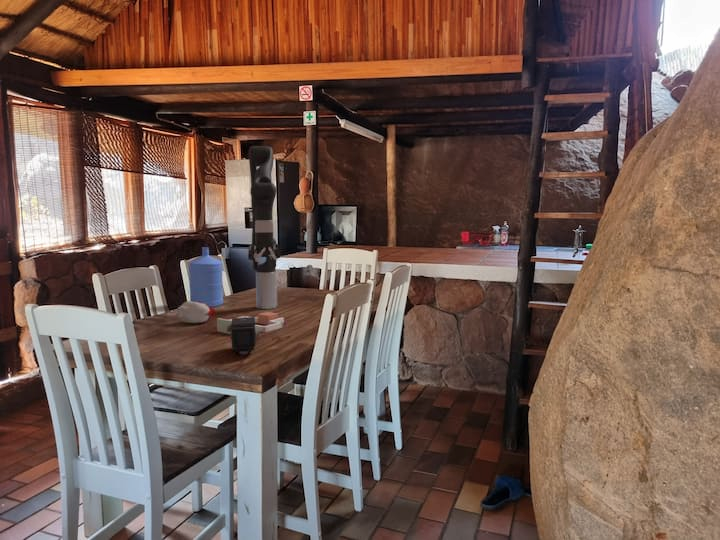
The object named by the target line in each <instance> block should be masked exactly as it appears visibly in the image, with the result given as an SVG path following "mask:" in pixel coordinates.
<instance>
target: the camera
mask: <svg viewBox="0 0 720 540" xmlns="http://www.w3.org/2000/svg"><path fill="white" fill-rule="evenodd" d="M254 318H255V317H254V316H248V317H247V318H238V317H235V318H234V317H232V318H231V319H232V323H231V324H229V325H228V324H227V332H230V334H229V336H230V340H231V348H232V351H233V352H238V353H239V355H247V354H249V351H254V350H255V347H256V342H257V340H259V339H260V335H261V334H260V331H256V329H255V325H256V323H255V319H254Z"/></svg>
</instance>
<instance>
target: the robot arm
mask: <svg viewBox="0 0 720 540" xmlns="http://www.w3.org/2000/svg"><path fill="white" fill-rule="evenodd" d="M248 162H249V172H250V197H251V199H250V201H251V216H252V218H251V219H252V225H251V226H252V229H251V245H248V251H247V252H248V256H247V259H248V260H249V261H252V269H253V270H254V271H255V290H256V291H255V297H256V299H255V301H256V303H255V304H256V309H261V310H268V309H275V308H276V307H278V287H277V286H276V285H277V283H276V282H277V281H276V271H277V270H276V267H277V259H280V258H281V246H280V244H279V243H277V241H276V239H275V238H274V221H273V211H274V209H273V208H274V202H275V199H276V195H277V190H278V189H277V187H276V186H277V185H275V184H274V183H273V181H272V172H273V167H274V150H273V148H272V146H268V145H252V146H251V145H250V147H249V148H248ZM257 167H258V168H257ZM260 258H265V260H264V262H263V263H260V264H259V259H260Z"/></svg>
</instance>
